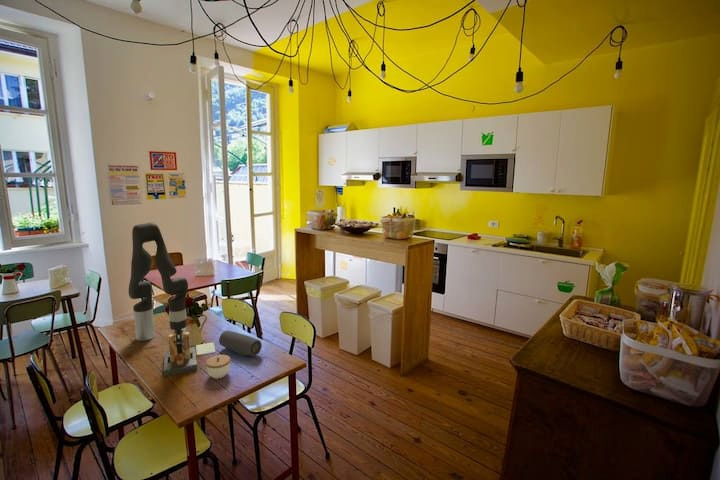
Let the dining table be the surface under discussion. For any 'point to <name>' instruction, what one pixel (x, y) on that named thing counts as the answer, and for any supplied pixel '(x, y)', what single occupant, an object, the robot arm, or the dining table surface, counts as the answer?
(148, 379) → the dining table surface
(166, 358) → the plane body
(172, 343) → the candy box
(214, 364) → the lidded jar
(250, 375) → the dining table surface
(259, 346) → the bluetooth speaker
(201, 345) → the felt pad
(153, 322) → the robot arm
